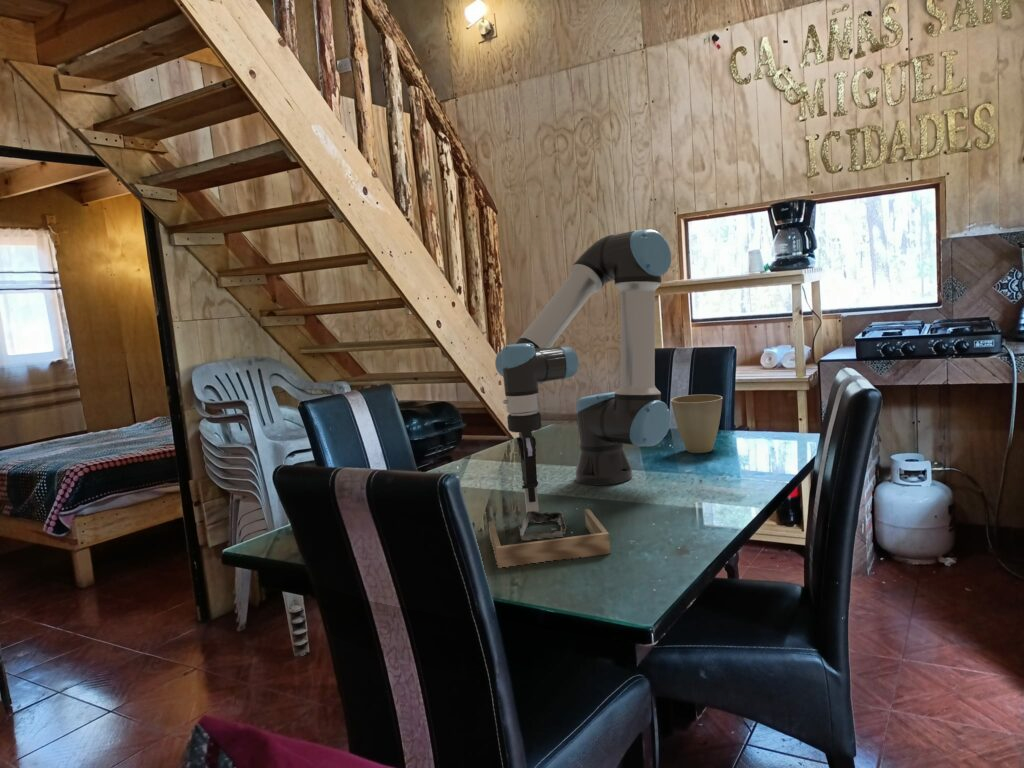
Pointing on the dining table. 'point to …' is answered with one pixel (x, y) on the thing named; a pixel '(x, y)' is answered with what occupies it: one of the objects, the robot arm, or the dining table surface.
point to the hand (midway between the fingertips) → (532, 514)
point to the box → (553, 546)
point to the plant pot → (698, 420)
